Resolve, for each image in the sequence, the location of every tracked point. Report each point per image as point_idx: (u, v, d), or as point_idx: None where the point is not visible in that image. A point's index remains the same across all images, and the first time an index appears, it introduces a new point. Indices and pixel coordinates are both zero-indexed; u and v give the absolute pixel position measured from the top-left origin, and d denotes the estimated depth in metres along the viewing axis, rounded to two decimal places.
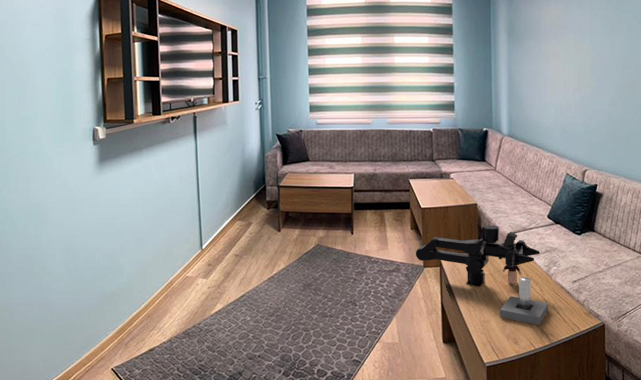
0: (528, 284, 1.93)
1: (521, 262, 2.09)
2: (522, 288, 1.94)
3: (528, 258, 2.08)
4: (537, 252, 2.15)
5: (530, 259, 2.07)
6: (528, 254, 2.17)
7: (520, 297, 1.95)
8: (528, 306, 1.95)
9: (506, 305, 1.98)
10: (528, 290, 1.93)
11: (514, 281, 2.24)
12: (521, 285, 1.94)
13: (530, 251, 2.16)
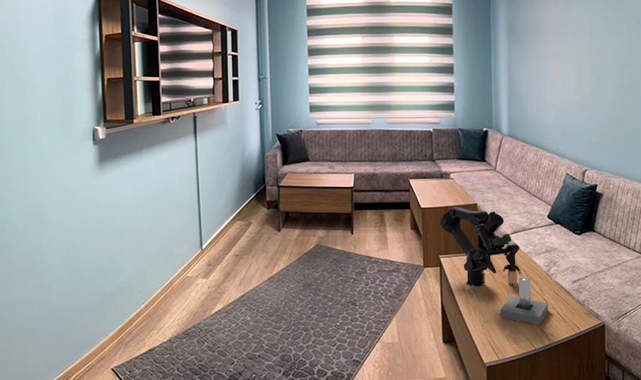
0: (528, 284, 1.93)
1: (485, 265, 2.08)
2: (522, 288, 1.94)
3: (492, 268, 2.06)
4: (513, 267, 2.08)
5: (493, 270, 2.06)
6: (509, 261, 2.11)
7: (520, 297, 1.95)
8: (528, 306, 1.95)
9: (506, 305, 1.98)
10: (528, 290, 1.93)
11: (514, 281, 2.24)
12: (521, 285, 1.94)
13: (511, 261, 2.10)
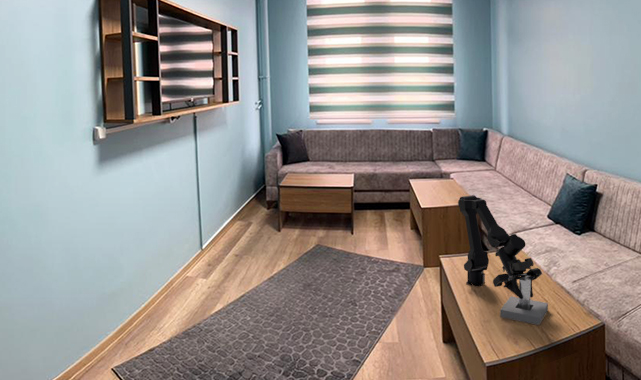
0: (528, 284, 1.93)
1: (511, 290, 1.97)
2: (522, 288, 1.94)
3: (518, 293, 1.94)
4: (530, 295, 1.95)
5: (519, 296, 1.94)
6: None
7: None
8: (528, 306, 1.95)
9: (506, 305, 1.98)
10: (528, 290, 1.93)
11: None
12: (521, 285, 1.94)
13: None
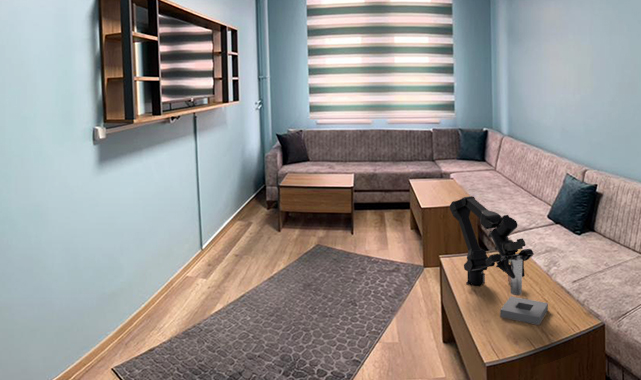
0: (520, 264, 1.96)
1: (503, 270, 2.00)
2: (514, 268, 1.97)
3: (510, 273, 1.98)
4: (522, 274, 1.99)
5: (511, 275, 1.98)
6: None
7: None
8: (520, 285, 1.98)
9: (506, 305, 1.98)
10: (520, 270, 1.97)
11: None
12: (513, 265, 1.97)
13: None
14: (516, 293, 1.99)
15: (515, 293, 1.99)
